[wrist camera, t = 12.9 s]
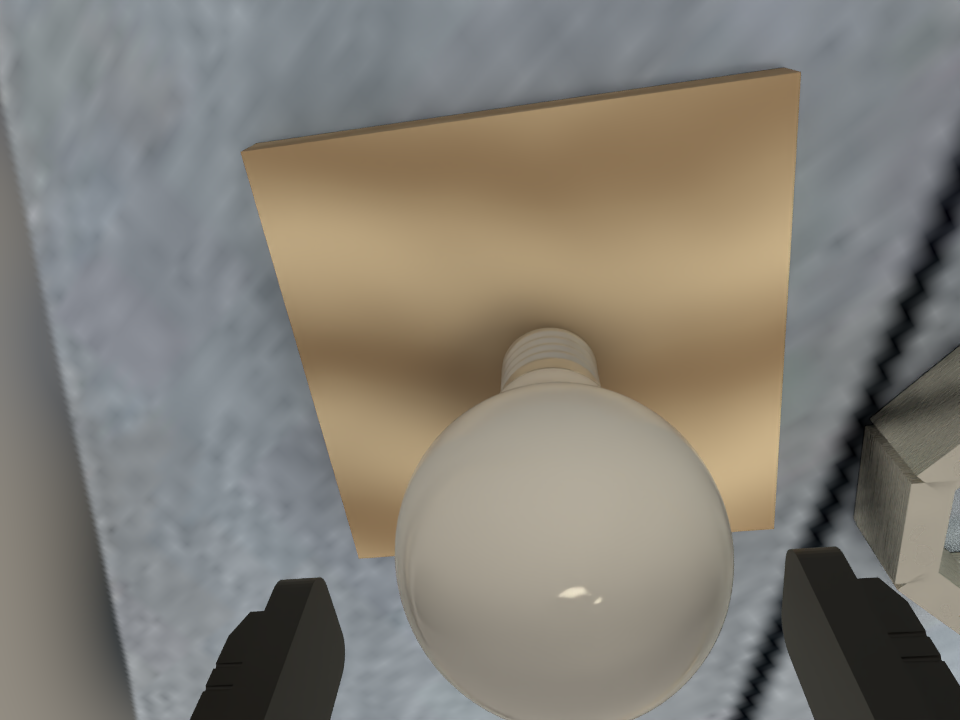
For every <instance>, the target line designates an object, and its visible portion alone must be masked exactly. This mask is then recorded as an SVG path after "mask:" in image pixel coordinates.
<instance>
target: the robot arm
mask: <svg viewBox="0 0 960 720" xmlns="http://www.w3.org/2000/svg"><path fill="white" fill-rule="evenodd" d="M782 628H783V634H784V639H785V643H786V647H787V650H788V653H789V656H790V658H791V661H792V663H793V666H794V669H795V671H796V674H797V676H798V679H799V681H800V684H801V686H802V689H803V691H804V694H805V697H806V699H807V702H808V704H809V707H810V709H811V712H812V714H813V717H814V719H815V720H960V685H959V684H958V682H957V681H956V679H955V677H954V676H953V674H952V673H951V671H950V669H949V668H948V666H947V664H946V663H945V661H942V660H941V655H940V653H939V652H938V650H937V648H936V647H935V645H934V644H933V642H932V640H931V639H930V637H927V636H926V631H925V629H924V627H923V626H922V624H921V623H920V621H919V619H918V618H917V616H916V615H915V613H914V611H913V610H912V608H911V607H910V605H909V603H908V602H907V601H906V600H905V599H904V598H902V597H901V596H900V595H899V594H898V593H896V592H895V591H894V590H893V589H892V588H890V587H889V586H888V585H887V584H886V583H884V582H883V581H882V580H881V579H880V578H860V579H857V578H856V576H855V574H854V572H853V570H852V569H851V567H850V565H849V563H848V562H847V560H846V558H845V556H844V554H843V553H842V551H841V550H840V549H839V548H838V547H820V548H804V549H789V550H788V551H787V554H786V561H785V574H784V587H783V600H782ZM344 661H345V644H344V638H343V634H342V631H341V627H340V624H339V621H338V618H337V615H336V612H335V609H334V606H333V603H332V600H331V597H330V594H329V591H328V588H327V585H326V583H325V581H324V579H323V578H321V577H318V578H302V579H286V580H280V581H279V582H277V584H276V585H275V587H274V589H273V592H272V594H271V596H270V599H269V601H268V603H267V606H266V608H265V611H257V612H250V613H249V614H248V615H247V616H246V617H245V619H244V620H243V621H242V622H241V623H240V624H239V625H238V626H237V627H236V629H235V630H234V631H233V632H232V633H231V634H230V635H229V636H228V639H227V641H226V643H225V645H224V647H223V649H222V651H221V654H220V656H219V658H218V660H217V662H216V669H213V671H212V673H211V675H210V677H209V680H208V682H207V684H206V690H205V691H203V693H202V695H201V697H200V699H199V701H198V703H197V706H196V708H195V710H194V712H193V714H192V716H191V718H190V720H330V718H331V714H332V711H333V707H334V703H335V700H336V696H337V692H338V688H339V685H340V681H341V677H342V674H343V669H344Z"/></svg>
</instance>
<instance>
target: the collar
mask: <svg viewBox="0 0 960 720" xmlns="http://www.w3.org/2000/svg"><path fill="white" fill-rule="evenodd" d="M870 420H871V421H872V422H873V423H874V425H870V426H865V432H864V440H863V448H862V456H861V464H860V472H859V480H858V488H857V496H856V504H855V512H854V520H855V522H856V523H857V524H856V525H857V527H858V528H859V530H860V531H861V533H862V535H863V536H864V538H865V539H866V541H867V542H868V544H869V546H870V547H871V549H872V550H873V552H874V554H875V555H876V557H877V558H878V560H879V561H880V563H881V565H882V566H883V568H884V569H885V571H886V573H887V574H888V576H889V577H890V579H891V580H892V582H893V584H894V585H895V587H896V588H897V590H898V591H900V592H901V593H902V594H904V595H905V596H907V597H908V598H909V599H911V600H912V601H914V602H915V603H916V604H918V605H919V606H920V607H922V608H923V609H925V610H926V611H927V612H929V613H930V614H932V615H933V616H934V617H936V618H937V619H939V620H940V621H941V622H943V623H944V624H945V625H947V626H948V627H950V628H951V629H952V630H954V631H955V632H957V633H958V634H959V635H960V552H957V553H950V552H949V551H947V550H946V549H945V548H944V543H945V538H946V533H947V528H948V523H949V518H950V513H951V508H952V503H953V498H954V493H955V490H956V489H958V488H959V487H960V346H959V347H958V348H957V349H955V350H954V351H953V352H952V353H950V354H949V355H948V356H947V357H945V358H944V359H943V360H942V361H940V362H939V363H938V364H937V365H936V366H934V367H933V368H932V369H931V370H929V371H928V372H927V373H926V374H924V375H923V376H922V377H921V378H919V379H918V380H917V381H916V382H915V383H913V384H912V385H911V386H910V387H908V388H907V389H906V390H905V391H903V392H902V393H901V394H900V395H898V396H897V397H896V398H895V399H893V400H892V401H891V402H890V403H889V404H887V405H886V406H885V407H884V408H882V409H881V410H880V411H879V412H877V413H876V414H875V415H874V416H872V417H871V418H870Z"/></svg>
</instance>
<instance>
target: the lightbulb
mask: <svg viewBox="0 0 960 720" xmlns="http://www.w3.org/2000/svg"><path fill="white" fill-rule="evenodd" d="M501 374H502V376H501V391H500V393H499V394H496V395H494V396H492V397H489V398H487V399H486V400H484V401H482V402H480V403H478V404H476V405H475V406H473V407H472V408H470V409H469V410H467V411H466V412H464V413H463V414H462V415H460V416H459V417H458V418H456V419H455V420H454V421H453V422H452V423H451V424H450V425H448V426H447V427H446V428H445V429H444V430H443V431H442V432H441V433H440V435H439V436H438V437H437V438H436V439H435V440H434V441H433V443H432V444H431V445H430V446H429V448H428V449H427V451H426V452H425V453H424V455H423V456H422V458H421V460H420V461H419V463H418V465H417V466H416V468H415V470H414V472H413V474H412V476H411V478H410V480H409V483H408V485H407V488H406V490H405V493H404V496H403V499H402V502H401V506H400V510H399V514H398V519H397V525H396V533H395V570H396V578H397V584H398V589H399V594H400V598H401V602H402V605H403V608H404V611H405V614H406V617H407V620H408V622H409V624H410V627H411V629H412V631H413V633H414V635H415V637H416V639H417V641H418V643H419V644H420V646H421V648H422V649H423V651H424V652H425V654H426V655H427V657H428V658H429V660H430V661H431V662H432V664H433V665H434V666H435V667H436V669H437V670H438V671H439V672H440V673H441V674H442V676H443V677H444V678H445V679H446V680H447V681H448V682H449V683H450V684H451V685H453V686H454V687H455V688H456V689H457V690H458V691H459V692H460V693H462V694H463V695H464V696H465V697H467V698H468V699H470V700H471V701H472V702H474V703H475V704H477V705H478V706H480V707H482V708H483V709H485V710H487V711H488V712H490V713H492V714H494V715H496V716H499V717H501V718H503V719H505V720H633V719H635V718H638V717H640V716H642V715H644V714H646V713H648V712H649V711H651V710H653V709H655V708H656V707H658V706H659V705H661V704H662V703H664V702H665V701H666V700H668V699H669V698H670V697H672V696H673V695H674V694H675V693H676V692H677V691H679V690H680V689H681V688H682V687H683V686H684V685H685V684H686V683H687V682H688V681H689V680H690V679H691V678H692V676H693V675H694V674H695V673H696V672H697V670H698V669H699V668H700V666H701V665H702V664H703V662H704V661H705V659H706V658H707V656H708V655H709V653H710V651H711V650H712V648H713V646H714V644H715V642H716V640H717V638H718V636H719V634H720V632H721V629H722V627H723V624H724V621H725V618H726V615H727V611H728V608H729V603H730V599H731V593H732V587H733V578H734V547H733V538H732V532H731V526H730V522H729V518H728V514H727V510H726V507H725V504H724V501H723V499H722V496H721V493H720V491H719V489H718V486H717V484H716V482H715V480H714V478H713V476H712V474H711V473H710V471H709V469H708V468H707V466H706V464H705V463H704V461H703V460H702V458H701V457H700V455H699V454H698V453H697V451H696V450H695V449H694V448H693V446H692V445H691V444H690V443H689V442H688V441H687V439H686V438H685V437H684V436H683V435H682V434H681V433H680V432H679V431H678V430H677V429H676V428H675V427H673V426H672V425H671V424H670V423H669V422H668V421H666V420H665V419H664V418H663V417H661V416H660V415H659V414H657V413H656V412H654V411H653V410H651V409H650V408H648V407H646V406H645V405H643V404H641V403H639V402H638V401H636V400H634V399H632V398H630V397H627V396H625V395H623V394H620V393H618V392H615V391H612V390H609V389H606V388H602V387H601V385H600V381H599V375H598V370H597V363H596V359H595V356H594V354H593V352H592V350H591V348H590V347H589V345H588V344H587V343H586V342H585V341H584V340H583V339H582V338H580V337H579V336H577V335H576V334H574V333H572V332H570V331H567V330H564V329H560V328H540V329H536V330H533V331H530V332H527V333H526V334H524V335H522V336H520V337H519V338H518V339H517V340H515V341H514V342H513V343H512V345H511V346H510V347H509V349H508V350H507V352H506V354H505V356H504V359H503V364H502V373H501Z"/></svg>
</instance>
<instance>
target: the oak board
mask: <svg viewBox="0 0 960 720" xmlns="http://www.w3.org/2000/svg"><path fill="white" fill-rule="evenodd" d="M800 79H801V72H799V71H795V70H792V69H788V68H777V69H770V70H763V71H757V72H750V73H743V74H736V75H729V76H722V77H715V78H708V79H701V80H694V81H687V82H680V83H673V84H666V85H659V86H652V87H645V88H638V89H631V90H624V91H617V92H610V93H604V94H597V95H590V96H583V97H576V98H569V99H562V100H555V101H548V102H541V103H534V104H527V105H520V106H513V107H506V108H499V109H492V110H485V111H478V112H471V113H464V114H458V115H451V116H444V117H437V118H430V119H423V120H416V121H409V122H402V123H395V124H388V125H381V126H374V127H367V128H360V129H353V130H346V131H339V132H332V133H325V134H318V135H311V136H305V137H298V138H291V139H284V140H277V141H270V142H263V143H256V144H254V145H253V146H251V147H249V148H247V149H245V150H243V151H242V152H241V155H242V158H243V162H244V165H245V169H246V172H247V175H248V179H249V182H250V186H251V189H252V193H253V196H254V199H255V203H256V206H257V210H258V213H259V217H260V220H261V223H262V227H263V230H264V234H265V237H266V241H267V244H268V248H269V251H270V254H271V258H272V261H273V265H274V268H275V272H276V275H277V278H278V282H279V285H280V289H281V292H282V296H283V299H284V302H285V306H286V309H287V313H288V316H289V320H290V323H291V326H292V330H293V333H294V337H295V340H296V344H297V347H298V351H299V354H300V357H301V361H302V364H303V368H304V371H305V375H306V378H307V381H308V385H309V388H310V392H311V395H312V399H313V402H314V405H315V409H316V412H317V416H318V419H319V423H320V426H321V429H322V433H323V436H324V440H325V443H326V447H327V450H328V454H329V457H330V460H331V464H332V467H333V471H334V474H335V478H336V481H337V484H338V488H339V491H340V495H341V498H342V502H343V505H344V508H345V512H346V515H347V519H348V522H349V526H350V529H351V532H352V536H353V539H354V543H355V546H356V550H357V553H358V557H359V559H360V558H374V557H388V556H395V533H396V525H397V519H398V514H399V510H400V506H401V502H402V499H403V496H404V493H405V490H406V488H407V485H408V483H409V480H410V478H411V476H412V474H413V472H414V470H415V468H416V466H417V465H418V463H419V461H420V460H421V458H422V456H423V455H424V453H425V452H426V451H427V449H428V448H429V446H430V445H431V444H432V443H433V441H434V440H435V439H436V438H437V437H438V436H439V435H440V433H441V432H442V431H443V430H444V429H445V428H446V427H447V426H448V425H450V424H451V423H452V422H453V421H454V420H455V419H456V418H458V417H459V416H460V415H462V414H463V413H464V412H466V411H467V410H469V409H470V408H472V407H473V406H475V405H476V404H478V403H480V402H482V401H484V400H486V399H487V398H489V397H492V396H494V395H496V394H499V393H500V391H501V376H502V374H501V373H502V364H503V359H504V356H505V354H506V352H507V350H508V349H509V347H510V346H511V345H512V343H513V342H514V341H515V340H517V339H518V338H519V337H520V336H522V335H524V334H526V333H527V332H530V331H533V330H536V329H540V328H560V329H564V330H567V331H570V332H572V333H574V334H576V335H577V336H579V337H580V338H582V339H583V340H584V341H585V342H586V343H587V344H588V345H589V347H590V348H591V350H592V352H593V354H594V356H595V359H596V363H597V370H598V375H599V381H600V385H601V387H602V388H606V389H609V390H612V391H615V392H618V393H620V394H623V395H625V396H627V397H630V398H632V399H634V400H636V401H638V402H639V403H641V404H643V405H645V406H646V407H648V408H650V409H651V410H653V411H654V412H656V413H657V414H659V415H660V416H661V417H663V418H664V419H665V420H666V421H668V422H669V423H670V424H671V425H672V426H673V427H675V428H676V429H677V430H678V431H679V432H680V433H681V434H682V435H683V436H684V437H685V438H686V439H687V441H688V442H689V443H690V444H691V445H692V446H693V448H694V449H695V450H696V451H697V453H698V454H699V455H700V457H701V458H702V460H703V461H704V463H705V464H706V466H707V468H708V469H709V471H710V473H711V474H712V476H713V478H714V480H715V482H716V484H717V486H718V489H719V491H720V493H721V496H722V499H723V501H724V504H725V507H726V510H727V514H728V518H729V522H730V526H731V532H737V531H750V530H764V529H774V518H775V501H776V484H777V467H778V451H779V434H780V417H781V400H782V383H783V366H784V349H785V332H786V316H787V299H788V282H789V265H790V248H791V231H792V214H793V197H794V181H795V164H796V147H797V130H798V113H799V96H800Z"/></svg>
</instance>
